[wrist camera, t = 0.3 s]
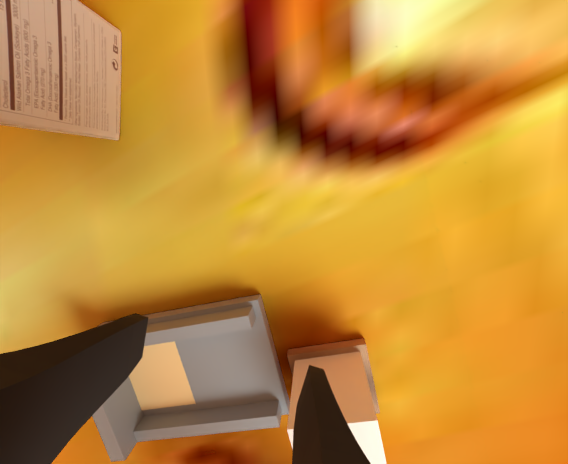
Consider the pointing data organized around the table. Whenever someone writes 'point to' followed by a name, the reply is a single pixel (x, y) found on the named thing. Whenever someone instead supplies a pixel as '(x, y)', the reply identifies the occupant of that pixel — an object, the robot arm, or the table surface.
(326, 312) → the table surface
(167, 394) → the tray
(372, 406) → the block
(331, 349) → the stand
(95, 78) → the supplement box
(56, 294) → the table surface
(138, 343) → the robot arm
